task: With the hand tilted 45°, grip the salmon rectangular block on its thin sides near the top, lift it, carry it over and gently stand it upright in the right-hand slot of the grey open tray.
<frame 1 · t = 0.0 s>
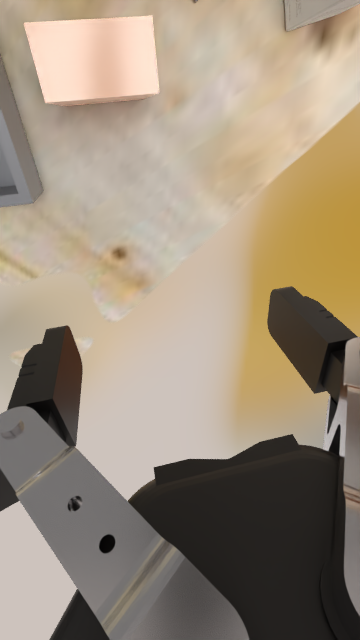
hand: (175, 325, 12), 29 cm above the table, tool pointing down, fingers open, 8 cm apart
salmon rectangular block: (99, 77, 30), on the table
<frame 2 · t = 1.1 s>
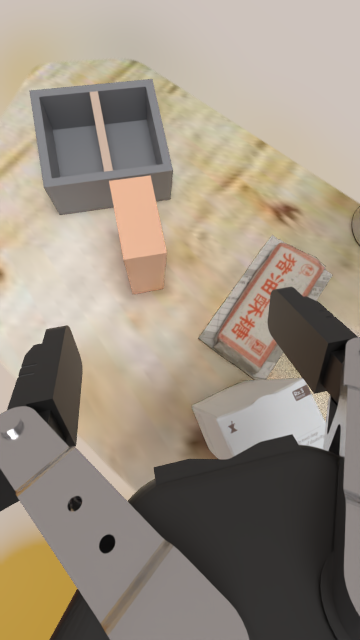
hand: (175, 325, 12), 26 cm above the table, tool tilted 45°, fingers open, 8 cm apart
packaged product: (263, 307, 41), on the table
grey open tray: (108, 164, 42), on the table
salmon rectangular block: (142, 262, 40), on the table
skincare box: (228, 411, 38), on the table
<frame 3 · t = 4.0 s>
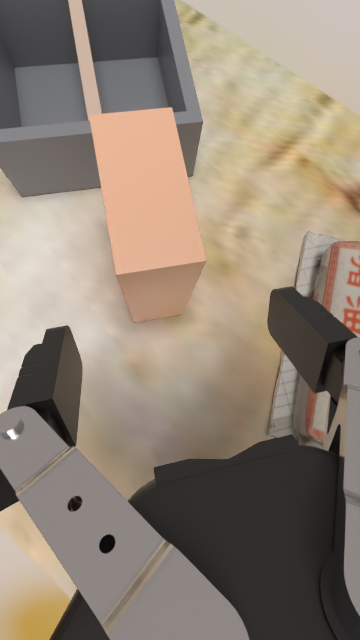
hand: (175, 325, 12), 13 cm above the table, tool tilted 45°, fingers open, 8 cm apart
packaged product: (336, 343, 27), on the table
grey open tray: (99, 122, 28), on the table
salmon rectangular block: (149, 273, 26), on the table
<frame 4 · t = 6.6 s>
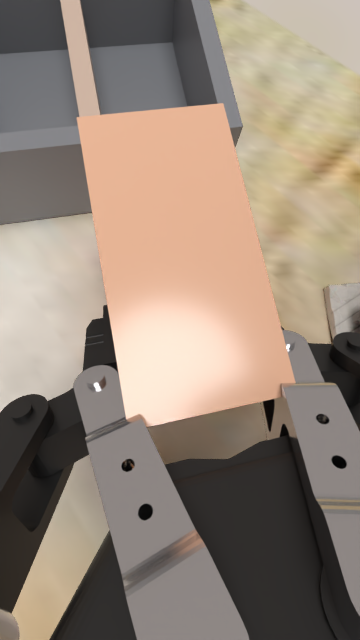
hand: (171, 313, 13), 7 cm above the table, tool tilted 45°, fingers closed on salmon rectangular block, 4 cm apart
grey open tray: (96, 126, 21), on the table
salmon rectangular block: (164, 326, 19), on the table, touching gripper
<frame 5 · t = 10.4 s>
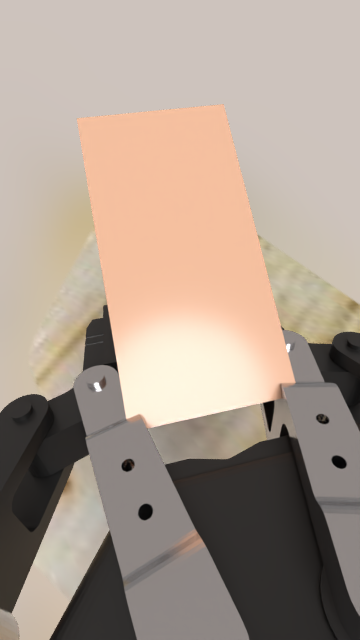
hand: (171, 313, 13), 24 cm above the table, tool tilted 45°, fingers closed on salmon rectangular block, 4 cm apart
salmon rectangular block: (164, 326, 19), point 17 cm above the table, touching gripper
when the fingers open (9 cm above the table, at t = 14.5 s): salmon rectangular block drops 1 cm, resting on grey open tray.
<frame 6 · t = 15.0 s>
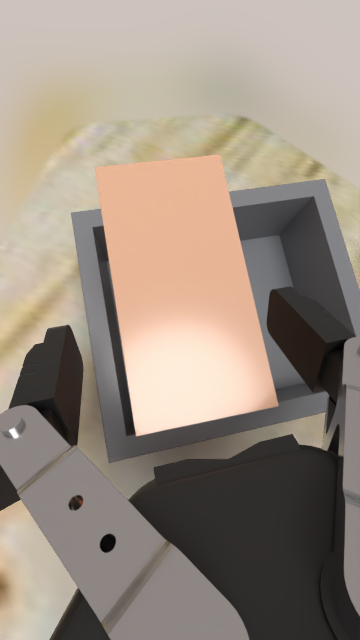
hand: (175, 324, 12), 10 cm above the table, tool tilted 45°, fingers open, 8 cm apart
grey open tray: (209, 322, 22), on the table
salmon rectangular block: (165, 335, 21), point 1 cm above the table, touching grey open tray
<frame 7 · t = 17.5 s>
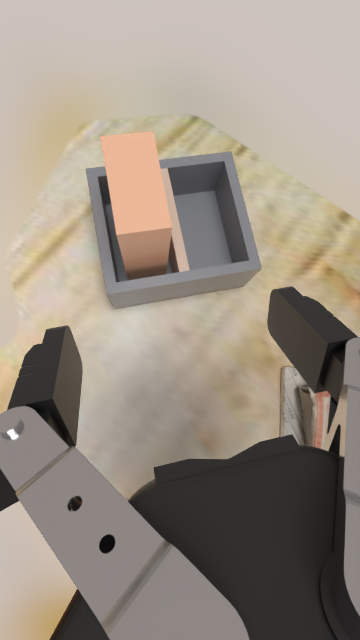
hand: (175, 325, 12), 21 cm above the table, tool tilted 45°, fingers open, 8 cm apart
packaged product: (353, 415, 34), on the table
grey open tray: (169, 244, 35), on the table
salmon rectangular block: (141, 248, 34), point 1 cm above the table, touching grey open tray
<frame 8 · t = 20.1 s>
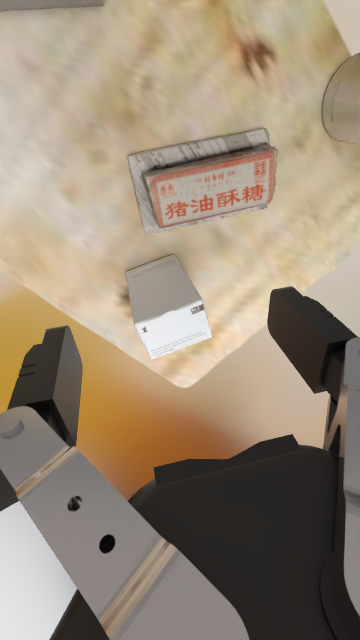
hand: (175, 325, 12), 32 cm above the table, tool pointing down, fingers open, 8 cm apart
packaged product: (200, 182, 40), on the table
skincare box: (156, 276, 46), on the table
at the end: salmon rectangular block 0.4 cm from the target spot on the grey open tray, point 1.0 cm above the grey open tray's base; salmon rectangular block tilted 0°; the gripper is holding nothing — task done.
